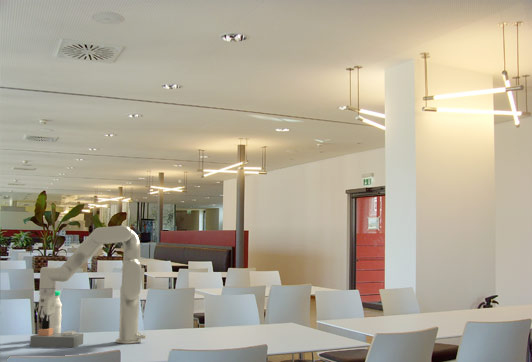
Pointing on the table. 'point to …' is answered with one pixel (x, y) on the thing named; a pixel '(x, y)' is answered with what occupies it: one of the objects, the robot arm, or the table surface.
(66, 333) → the grey button
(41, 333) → the terracotta button
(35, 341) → the block
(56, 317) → the water bottle
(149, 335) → the table surface
